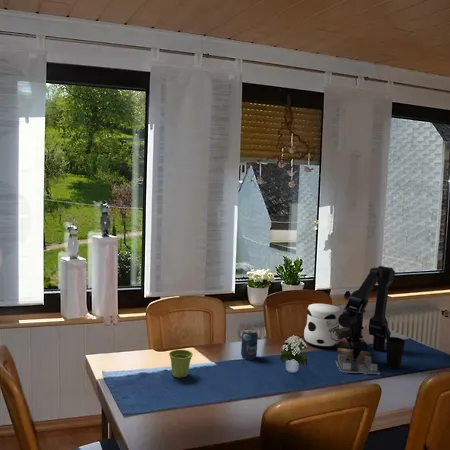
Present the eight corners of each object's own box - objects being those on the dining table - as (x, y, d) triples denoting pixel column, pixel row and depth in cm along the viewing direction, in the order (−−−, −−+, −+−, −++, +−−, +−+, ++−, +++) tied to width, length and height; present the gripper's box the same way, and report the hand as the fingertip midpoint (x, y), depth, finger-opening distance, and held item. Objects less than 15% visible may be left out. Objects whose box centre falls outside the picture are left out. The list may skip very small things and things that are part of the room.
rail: (336, 359, 228) (337, 350, 228) (337, 356, 232) (337, 347, 231) (369, 363, 225) (370, 354, 225) (369, 360, 228) (369, 351, 228)
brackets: (335, 362, 224) (336, 353, 223) (371, 364, 223) (372, 355, 223) (341, 373, 212) (342, 363, 211) (379, 375, 212) (380, 365, 211)
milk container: (343, 351, 239) (346, 313, 237) (306, 349, 239) (308, 311, 237) (335, 338, 256) (338, 303, 254) (301, 337, 256) (303, 302, 254)
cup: (403, 370, 218) (406, 343, 216) (385, 368, 219) (387, 341, 218) (401, 364, 225) (403, 337, 224) (383, 362, 227) (385, 336, 225)
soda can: (248, 361, 220) (249, 334, 218) (237, 356, 225) (238, 330, 224) (259, 358, 224) (261, 331, 223) (248, 353, 230) (250, 327, 228)
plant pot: (195, 372, 205) (196, 351, 204) (186, 381, 196) (187, 359, 195) (174, 368, 208) (175, 348, 207) (164, 377, 199) (164, 355, 198)
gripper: (333, 316, 236) (331, 348, 238) (342, 328, 217) (339, 364, 219) (357, 317, 236) (355, 350, 238) (368, 330, 217) (365, 365, 219)
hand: (353, 356), depth 228 cm, fingers open, 5 cm apart
